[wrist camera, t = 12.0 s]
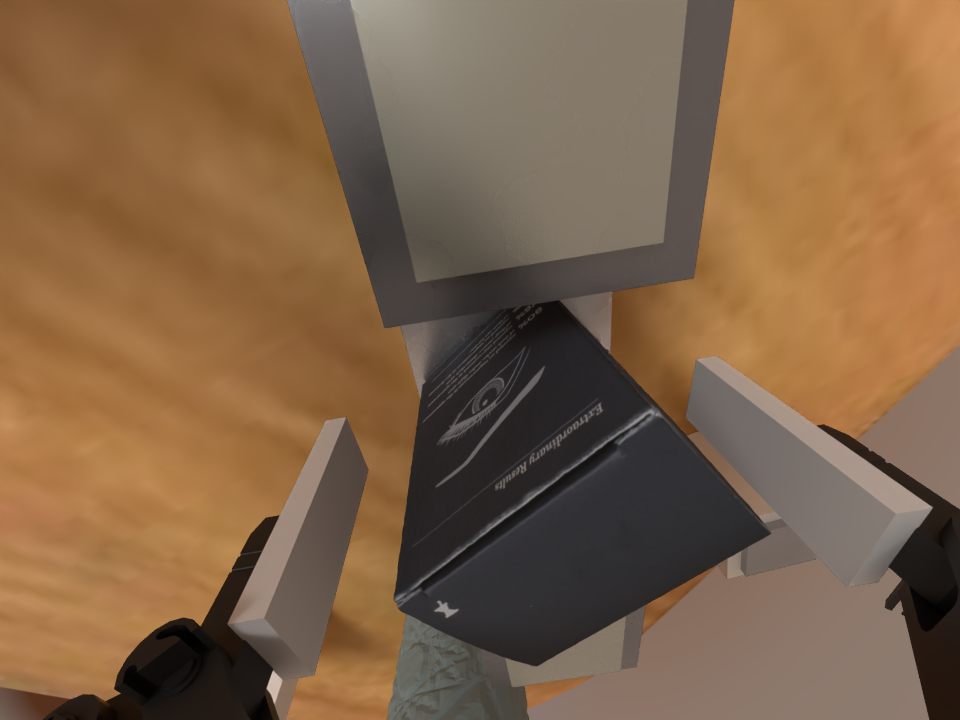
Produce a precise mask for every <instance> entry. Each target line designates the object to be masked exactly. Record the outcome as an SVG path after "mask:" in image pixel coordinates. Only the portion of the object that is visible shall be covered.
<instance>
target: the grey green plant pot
mask: <svg viewBox="0 0 960 720" xmlns="http://www.w3.org/2000/svg"><path fill="white" fill-rule="evenodd" d="M396 670H397V672H396V676H395V681H394V682H393V696H392V698H391V700H390V703H389V710H388V718H387V720H529V716H528V714H527V699H526V692H525V688H524V686H519V687H512V686H508V687H501V688H495V689H492V686H491V683H490V679H489V676H488V673H487V669H486V666H485V662H484V659H483V656H482V652H481V649H480V648H477V647H475V646H473V645H470V644H469V643H466V642H463V641H461V640H458V639H456V638H454V637H452V636H450V635H448V634H445V633H443V632H441V631H439V630H436V629H435V628H433V627H431V626H429V625H427V624H425V623H423V622H421V621H419V620H418V619H416V618H414V617H412V616H410V615H408V614H406V620H405V626H404V632H403V640H402V644H401V648H400V652H399V661H398V664H397V667H396Z"/></svg>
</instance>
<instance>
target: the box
mask: <svg viewBox="0 0 960 720" xmlns="http://www.w3.org/2000/svg"><path fill="white" fill-rule="evenodd" d="M770 534H771V531H770V530H769V529H768V528H767V527H766V525H765V524H764V523H763V521H762V520H761V519H760V517H759V516H758V515H757V514H756V513H755V512H754V511H753V509H752V508H751V507H750V506H749V504H748V503H747V502H746V501H745V500H744V499H743V498H742V497H741V496H740V495H739V494H738V493H737V492H736V490H735V489H734V488H733V487H732V486H731V485H730V484H729V482H728V481H727V480H726V479H725V478H724V477H723V475H722V474H721V473H720V472H719V471H718V470H717V469H716V468H715V467H714V465H713V464H712V463H711V462H710V461H709V460H708V459H707V458H706V457H705V455H704V454H703V453H702V452H701V451H700V450H699V449H698V447H697V446H696V445H695V444H694V443H693V442H692V441H691V440H690V439H689V438H688V436H687V435H686V434H685V433H684V432H683V431H682V430H681V429H680V428H679V427H678V426H677V425H676V424H675V423H674V422H673V421H672V420H671V418H670V417H669V416H668V415H667V414H666V413H665V412H664V411H663V410H662V409H661V408H660V407H659V405H658V404H657V403H656V402H655V401H654V400H653V399H652V398H651V397H650V396H649V395H648V394H647V393H646V392H645V391H644V390H643V389H642V387H641V386H640V385H639V384H638V383H637V382H636V381H635V380H634V379H633V378H632V377H631V376H630V375H629V374H628V373H627V372H626V370H625V369H624V368H623V367H622V366H621V365H620V364H619V363H618V362H617V361H616V360H615V359H614V358H613V357H612V355H611V354H610V353H609V350H608V349H605V348H604V347H603V346H602V345H601V344H600V343H599V341H598V340H597V339H596V338H595V337H594V336H593V335H592V334H591V333H590V332H589V331H588V329H587V328H586V327H585V326H584V325H583V324H582V323H581V322H580V321H579V320H578V319H577V318H576V317H575V316H574V315H573V314H572V313H571V312H570V311H569V310H568V309H567V308H566V306H565V305H564V304H563V303H562V302H561V301H560V300H557V301H551V302H545V303H538V304H532V305H526V306H520V307H514V308H508V309H501V310H499V311H498V312H497V313H496V314H495V315H494V316H493V317H492V318H491V319H490V320H489V321H488V322H487V323H486V324H485V325H484V326H483V327H482V328H481V329H480V330H479V331H478V332H477V333H476V334H475V335H474V336H473V337H472V338H471V339H470V340H469V341H468V342H467V343H466V344H464V345H463V347H462V348H461V349H459V350H458V351H457V352H456V353H455V354H454V355H453V356H452V357H451V358H450V359H449V360H448V361H447V362H446V363H445V364H444V365H443V366H442V367H441V368H440V369H439V370H438V371H437V372H436V373H435V374H434V375H433V376H432V377H431V378H430V379H429V380H428V381H426V382H425V383H424V384H423V385H422V391H421V400H420V406H419V414H418V422H417V428H416V437H415V444H414V451H413V460H412V466H411V474H410V482H409V489H408V496H407V506H406V513H405V519H404V526H403V532H402V543H401V549H400V554H399V561H398V573H397V581H396V589H395V593H394V601H395V602H396V603H397V606H398V609H399V610H400V611H401V612H403V613H406V614H408V615H410V616H412V617H414V618H416V619H418V620H419V621H421V622H423V623H425V624H427V625H429V626H431V627H433V628H435V629H436V630H439V631H441V632H443V633H445V634H448V635H450V636H452V637H454V638H456V639H458V640H461V641H463V642H466V643H469V644H470V645H473V646H475V647H477V648H480V649H483V650H486V651H488V652H492V653H493V654H496V655H499V656H501V657H504V658H507V659H510V660H513V661H517V662H520V663H524V664H528V665H531V666H536V667H537V666H539V665H541V664H543V663H544V662H546V661H547V660H549V659H551V658H553V657H555V656H556V655H558V654H560V653H561V652H563V651H565V650H567V649H569V648H570V647H572V646H574V645H576V644H577V643H579V642H581V641H582V640H584V639H586V638H588V637H590V636H592V635H593V634H595V633H597V632H599V631H600V630H602V629H604V628H606V627H607V626H609V625H611V624H613V623H614V622H616V621H618V620H620V619H622V618H623V617H625V616H627V615H629V614H630V613H632V612H634V611H636V610H638V609H639V608H641V607H643V606H645V605H646V604H648V603H650V602H651V601H653V600H655V599H657V598H659V597H661V596H663V595H664V594H666V593H667V592H669V591H671V590H673V589H674V588H676V587H678V586H680V585H682V584H683V583H685V582H687V581H689V580H690V579H692V578H694V577H695V576H697V575H699V574H701V573H703V572H705V571H706V570H708V569H710V568H712V567H714V566H715V565H717V564H719V563H721V562H723V561H724V560H726V559H728V558H730V557H732V556H734V555H735V554H737V553H739V552H740V551H742V550H744V549H745V548H747V547H749V546H751V545H753V544H754V543H756V542H758V541H760V540H762V539H764V538H765V537H767V536H769V535H770Z"/></svg>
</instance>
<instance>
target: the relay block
mask: <svg viewBox="0 0 960 720" xmlns="http://www.w3.org/2000/svg"><path fill="white" fill-rule="evenodd" d="M687 436H688V438H689V439H690V440H691V441H692V442H693V443H694V444H695V445H696V446H697V447H698V449H699V450H700V451H701V452H702V453H703V454H704V455H705V457H706V458H707V459H708V460H709V461H710V462H711V463H712V464H713V465H714V467H715V468H716V469H717V470H718V471H719V472H720V473H721V474H722V475H723V477H724V478H725V479H726V480H727V481H728V482H729V484H730V485H731V486H732V487H733V488H734V489H735V490H736V492H737V493H738V494H739V495H740V496H741V497H742V498H743V499H744V500H745V501H746V502H747V503H748V504H749V506H750V507H751V508H752V509H753V511H754V512H755V513H756V514H757V515H758V516H759V517H760V519H761V520H762V521H763V523H764V524H765V525H766V527H767V528H768V529H769V530H770V531H771V534H770V535H769V536H767V537H765V538H764V539H762V540H760V541H758V542H756V543H754V544H753V545H751V546H749V547H747V548H745V549H744V550H742V551H740V552H739V553H737V554H735V555H734V556H732V557H730V558H728V559H726V560H724V561H723V562H721V563H719V564H717V565H718V566H719V568H720V569H721V571H722V572H723V574H724V575H725V577H726V578H727V579H730V578H734V577H738V576H742V575H745V576H750V575H754V574H758V573H762V572H766V571H770V570H774V569H778V568H782V567H786V566H791V565H795V564H798V563H803V562H806V561H811V560H815V559H816V557H818V556H817V555H816V554H815V553H814V552H813V551H812V550H811V549H810V548H809V547H808V546H807V545H806V544H805V543H804V542H803V541H802V540H801V539H800V538H799V536H798V535H797V534H796V533H795V532H794V531H793V530H792V529H791V528H790V527H789V526H788V525H787V524H786V523H785V522H784V521H783V520H782V519H781V517H780V516H779V515H778V514H777V513H776V512H775V511H774V510H773V509H772V508H771V507H770V506H769V505H768V504H767V503H766V502H765V501H764V500H763V499H762V497H761V496H760V495H759V494H758V493H757V492H756V491H755V490H754V489H753V488H752V487H751V486H750V485H749V484H748V483H747V482H746V481H745V480H744V479H743V477H742V476H741V475H740V474H739V473H738V472H737V471H736V470H735V469H734V468H733V467H732V466H731V465H730V464H729V463H728V462H727V461H726V460H725V459H724V457H723V456H722V455H721V454H720V453H719V452H718V451H717V450H716V449H715V448H714V447H713V446H712V445H711V444H710V443H709V442H708V441H707V440H706V438H705V437H704V436H703V435H702V434H701V433H700V432H696V433H692V434H689V435H687Z"/></svg>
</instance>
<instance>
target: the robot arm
mask: <svg viewBox="0 0 960 720" xmlns="http://www.w3.org/2000/svg"><path fill="white" fill-rule="evenodd" d="M686 418H687V420H688V421H689V422H690V423H691V424H692V425H693V426H694V427H695V428H696V429H697V430H698V431H699V432H700V433H701V434H702V435H703V436H704V437H705V438H706V440H707V441H708V442H709V443H710V444H711V445H712V446H713V447H714V448H715V449H716V450H717V451H718V452H719V453H720V454H721V455H722V456H723V457H724V459H725V460H726V461H727V462H728V463H729V464H730V465H731V466H732V467H733V468H734V469H735V470H736V471H737V472H738V473H739V474H740V475H741V476H742V477H743V479H744V480H745V481H746V482H747V483H748V484H749V485H750V486H751V487H752V488H753V489H754V490H755V491H756V492H757V493H758V494H759V495H760V496H761V497H762V499H763V500H764V501H765V502H766V503H767V504H768V505H769V506H770V507H771V508H772V509H773V510H774V511H775V512H776V513H777V514H778V515H779V516H780V517H781V519H782V520H783V521H784V522H785V523H786V524H787V525H788V526H789V527H790V528H791V529H792V530H793V531H794V532H795V533H796V534H797V535H798V536H799V538H800V539H801V540H802V541H803V542H804V543H805V544H806V545H807V546H808V547H809V548H810V549H811V550H812V551H813V552H814V553H815V554H816V555H817V556H818V558H820V560H821V561H822V562H823V563H824V564H825V565H826V566H827V567H828V568H829V569H830V570H831V571H832V572H833V573H834V574H835V575H836V576H837V577H838V579H840V581H841V582H842V583H843V584H844V585H845V586H846V587H853V586H859V585H865V584H871V583H877V582H879V581H880V579H881V578H882V576H883V575H884V574H885V572H886V571H887V570H888V568H890V569H892V570H893V571H894V572H895V573H896V574H897V575H898V576H899V577H901V578H902V580H901V582H900V583H899V584H898V585H897V587H896V588H895V589H894V591H893V592H892V593H891V594H890V595H889V597H888V598H887V599H886V603H885V608H886V609H889V610H893V608H894V607H895V606H896V605H897V604H898V602H899V601H900V600H901V603H902V607H903V612H902V615H904V616H905V620H906V624H907V628H908V632H909V636H910V640H911V645H912V649H913V653H914V657H915V662H916V666H917V670H918V674H919V678H920V682H921V686H922V690H923V695H924V699H925V703H926V707H927V712H928V716H929V720H960V509H958V508H957V507H955V506H954V505H952V504H951V503H949V502H948V501H946V500H945V499H943V498H942V497H940V496H939V495H937V494H936V493H934V492H933V491H931V490H930V489H928V488H927V487H925V486H924V485H922V484H921V483H919V482H918V481H916V480H915V479H913V478H912V477H910V476H909V475H907V474H906V473H904V472H903V471H901V470H900V469H898V468H897V467H895V466H894V465H892V464H891V463H886V462H885V459H883V458H882V457H880V456H879V455H877V454H876V453H874V452H873V451H871V452H870V451H869V450H868V448H867V447H865V446H864V445H862V444H861V443H859V442H858V441H856V440H855V439H853V438H852V437H850V436H849V435H847V434H845V433H842V432H840V431H838V430H835V429H833V428H831V427H829V426H826V425H818V426H816V425H814V424H813V423H812V422H810V421H809V420H807V419H806V418H804V417H803V416H802V415H800V414H799V413H797V412H796V411H794V410H793V409H792V408H790V407H789V406H787V405H786V404H785V403H783V402H782V401H780V400H779V399H777V398H776V397H775V396H773V395H772V394H770V393H769V392H767V391H766V390H765V389H763V388H762V387H760V386H759V385H757V384H756V383H755V382H753V381H752V380H750V379H749V378H747V377H746V376H745V375H743V374H742V373H740V372H739V371H737V370H736V369H735V368H733V367H732V366H730V365H729V364H728V363H726V362H725V361H723V360H722V359H720V358H719V357H718V356H712V357H706V358H700V359H696V363H695V368H694V374H693V379H692V385H691V390H690V396H689V401H688V407H687V412H686ZM367 474H368V468H367V465H366V463H365V460H364V458H363V456H362V453H361V451H360V448H359V446H358V444H357V441H356V439H355V436H354V434H353V432H352V429H351V427H350V424H349V422H348V420H347V417H343V418H337V419H331V420H326V421H325V423H324V425H323V428H322V430H321V432H320V434H319V436H318V438H317V440H316V442H315V444H314V446H313V448H312V450H311V452H310V454H309V456H308V459H307V461H306V463H305V465H304V467H303V469H302V471H301V473H300V475H299V477H298V479H297V481H296V483H295V485H294V487H293V489H292V492H291V494H290V496H289V498H288V500H287V502H286V504H285V506H284V508H283V510H282V512H281V514H280V515H279V516H273V517H267V518H265V519H264V520H263V521H262V522H261V523H260V525H259V526H258V527H257V528H256V529H255V530H254V531H253V532H252V533H251V535H250V536H249V538H248V540H247V542H246V544H245V545H244V547H243V549H242V551H241V553H240V554H241V555H240V557H238V558H237V560H236V562H235V564H234V566H233V568H232V572H231V573H229V575H228V577H227V579H226V581H225V583H224V584H223V586H222V588H221V590H220V592H219V594H218V596H217V597H216V599H215V601H214V603H213V605H212V607H211V609H210V610H209V612H208V614H207V616H206V618H205V620H204V621H203V623H202V625H201V627H200V626H199V625H198V624H197V623H196V622H195V621H194V620H193V619H188V618H180V619H176V620H173V621H170V622H168V623H166V624H165V625H163V626H161V627H159V628H158V629H156V630H155V631H153V632H152V633H151V634H150V635H149V636H147V637H146V638H145V639H144V640H143V641H142V642H140V643H139V645H138V646H137V647H136V648H135V649H134V651H133V652H132V653H131V654H130V655H129V656H128V658H127V659H126V661H125V662H124V664H123V666H122V668H121V669H120V671H119V673H118V675H117V679H116V683H115V687H114V689H115V690H116V691H118V692H120V693H121V694H119V695H117V696H115V697H113V698H111V699H109V700H107V701H104V700H102V699H100V698H99V697H97V696H95V695H86V694H83V695H80V696H78V697H76V698H73V699H71V700H69V701H67V702H65V703H64V704H62V705H61V706H60V707H58V708H57V709H55V710H54V711H52V712H51V713H50V714H48V715H47V716H46V717H45V718H44V719H43V720H279V717H278V714H277V711H276V708H275V705H274V702H273V699H272V696H271V694H270V692H269V691H268V690H267V686H268V683H269V680H270V677H271V675H272V672H273V671H274V672H275V673H276V674H277V675H278V676H279V677H280V678H281V679H282V680H290V679H296V678H302V677H308V676H314V674H315V670H316V667H317V663H318V659H319V655H320V651H321V648H322V644H323V640H324V636H325V633H326V629H327V625H328V621H329V617H330V614H331V610H332V606H333V602H334V599H335V595H336V591H337V587H338V583H339V580H340V576H341V572H342V568H343V564H344V561H345V557H346V553H347V549H348V546H349V542H350V538H351V534H352V530H353V527H354V523H355V519H356V515H357V511H358V508H359V504H360V500H361V496H362V493H363V489H364V485H365V481H366V477H367Z"/></svg>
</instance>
